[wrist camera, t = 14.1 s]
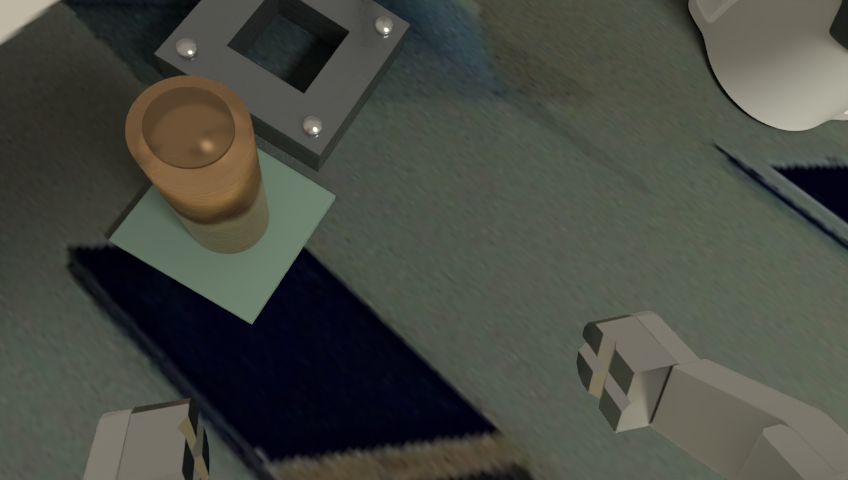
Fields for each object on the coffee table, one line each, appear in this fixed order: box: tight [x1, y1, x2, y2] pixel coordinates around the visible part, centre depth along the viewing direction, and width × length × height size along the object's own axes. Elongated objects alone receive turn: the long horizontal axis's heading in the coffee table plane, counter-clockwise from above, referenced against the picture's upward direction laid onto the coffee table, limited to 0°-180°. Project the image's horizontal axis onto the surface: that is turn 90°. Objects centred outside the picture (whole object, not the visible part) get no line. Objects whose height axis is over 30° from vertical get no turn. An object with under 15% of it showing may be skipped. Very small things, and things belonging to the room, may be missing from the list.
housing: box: [154, 0, 410, 172], centre depth 38 cm, size 12×12×3 cm
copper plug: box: [125, 75, 269, 254], centre depth 29 cm, size 5×5×13 cm
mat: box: [109, 148, 336, 324], centre depth 36 cm, size 10×10×1 cm
